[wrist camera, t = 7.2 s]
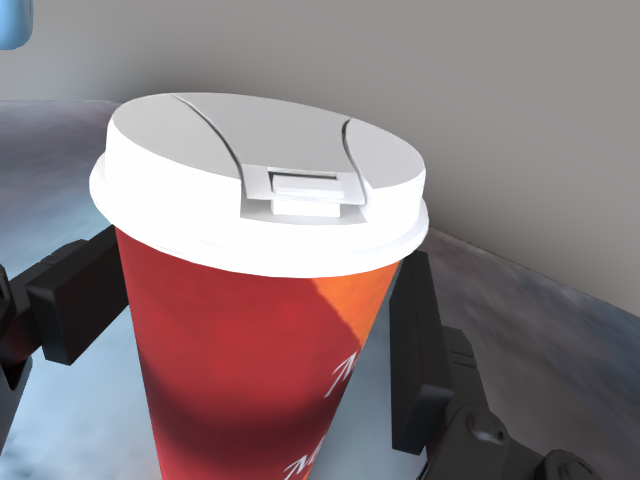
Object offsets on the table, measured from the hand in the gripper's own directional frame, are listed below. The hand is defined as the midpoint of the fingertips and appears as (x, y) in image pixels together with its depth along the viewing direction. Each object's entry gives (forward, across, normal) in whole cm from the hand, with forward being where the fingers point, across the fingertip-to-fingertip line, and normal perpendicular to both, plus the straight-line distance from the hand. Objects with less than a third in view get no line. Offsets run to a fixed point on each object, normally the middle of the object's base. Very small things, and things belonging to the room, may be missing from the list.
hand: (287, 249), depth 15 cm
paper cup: (-4, 0, -8) cm, 9 cm away
